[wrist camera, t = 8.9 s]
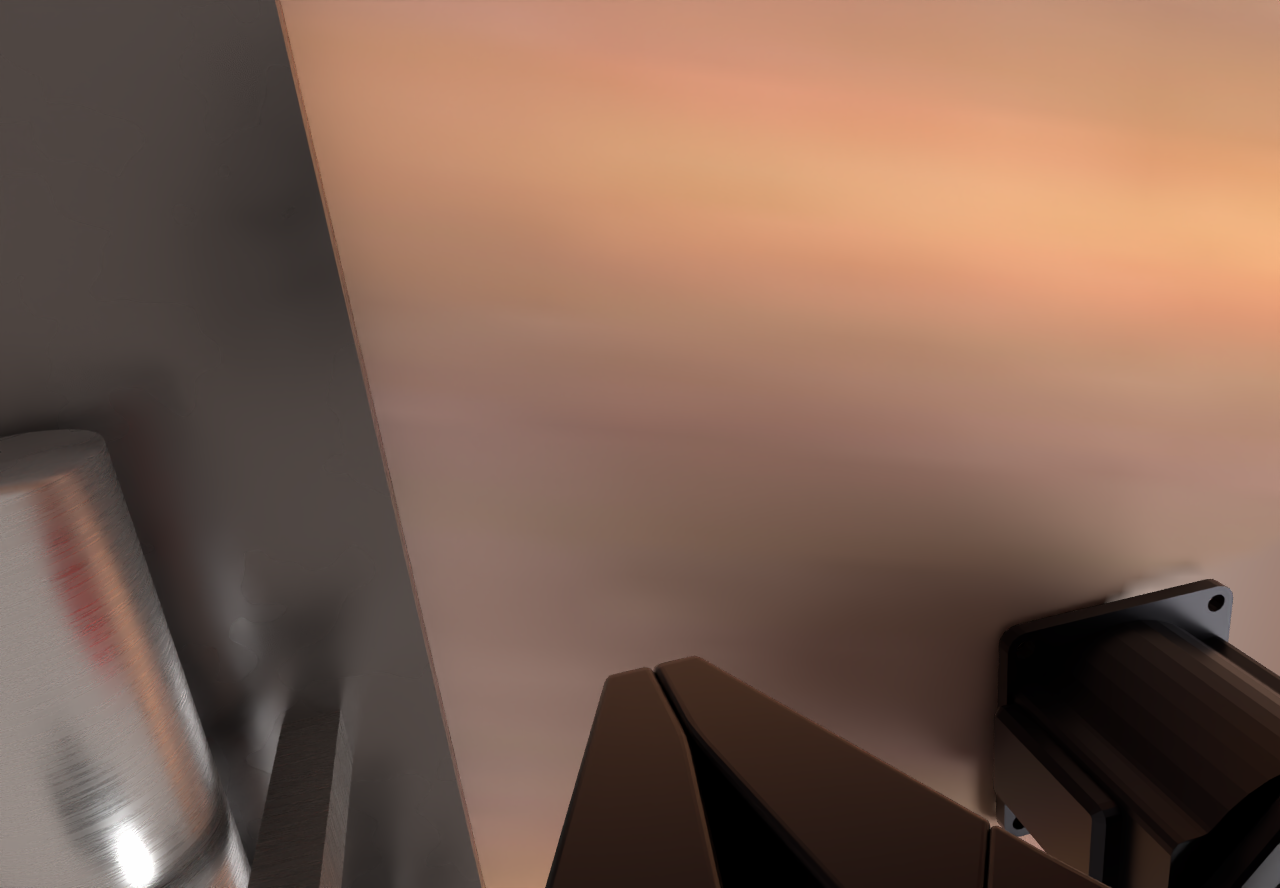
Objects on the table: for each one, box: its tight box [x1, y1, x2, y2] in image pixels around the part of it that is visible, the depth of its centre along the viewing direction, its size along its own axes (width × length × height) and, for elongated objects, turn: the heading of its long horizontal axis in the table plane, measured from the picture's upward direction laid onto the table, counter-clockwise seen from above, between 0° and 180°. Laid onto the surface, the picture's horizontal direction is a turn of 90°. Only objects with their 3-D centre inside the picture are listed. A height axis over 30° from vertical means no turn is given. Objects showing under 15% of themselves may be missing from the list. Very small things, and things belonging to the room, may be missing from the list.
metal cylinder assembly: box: [0, 0, 485, 888], centre depth 16 cm, size 12×34×8 cm, turn 7°
